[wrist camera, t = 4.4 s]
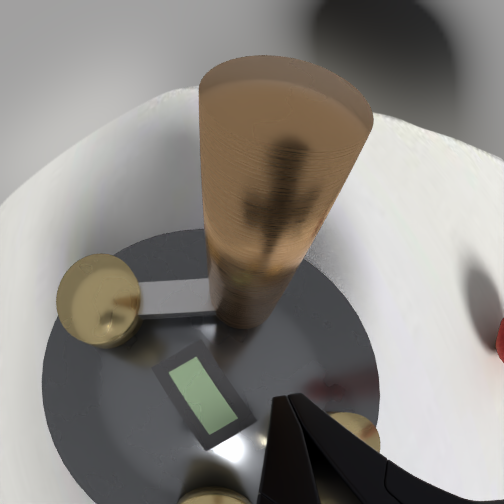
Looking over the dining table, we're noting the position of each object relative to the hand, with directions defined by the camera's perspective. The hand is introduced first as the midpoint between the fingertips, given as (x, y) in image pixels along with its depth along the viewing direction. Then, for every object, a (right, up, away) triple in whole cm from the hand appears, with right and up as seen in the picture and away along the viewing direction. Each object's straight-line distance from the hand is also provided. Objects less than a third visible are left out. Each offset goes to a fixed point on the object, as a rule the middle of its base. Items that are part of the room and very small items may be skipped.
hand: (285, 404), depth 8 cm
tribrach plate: (-4, -4, +8) cm, 9 cm away
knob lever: (-6, +1, +8) cm, 10 cm away
